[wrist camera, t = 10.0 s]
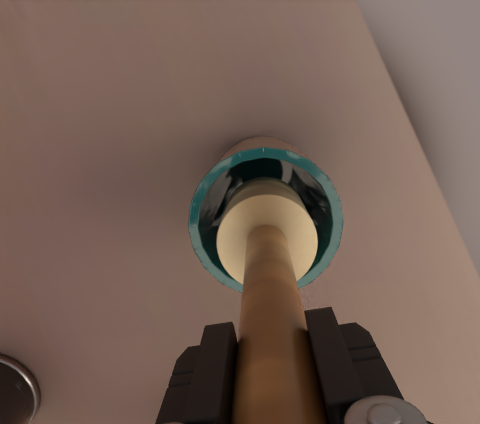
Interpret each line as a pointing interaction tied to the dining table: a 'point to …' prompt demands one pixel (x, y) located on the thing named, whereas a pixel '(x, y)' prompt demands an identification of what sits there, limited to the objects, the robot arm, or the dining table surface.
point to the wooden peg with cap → (271, 304)
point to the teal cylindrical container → (264, 165)
